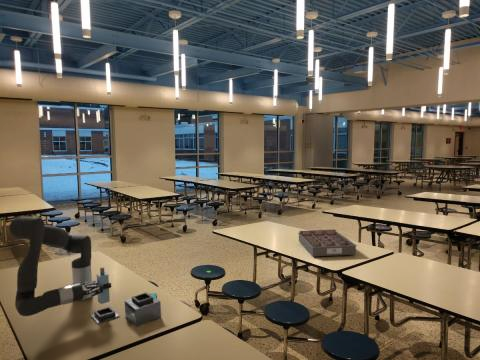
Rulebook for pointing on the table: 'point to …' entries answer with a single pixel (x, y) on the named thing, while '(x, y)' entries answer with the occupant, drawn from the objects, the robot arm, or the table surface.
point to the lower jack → (104, 315)
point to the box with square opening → (142, 309)
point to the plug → (101, 280)
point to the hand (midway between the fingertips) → (108, 283)
